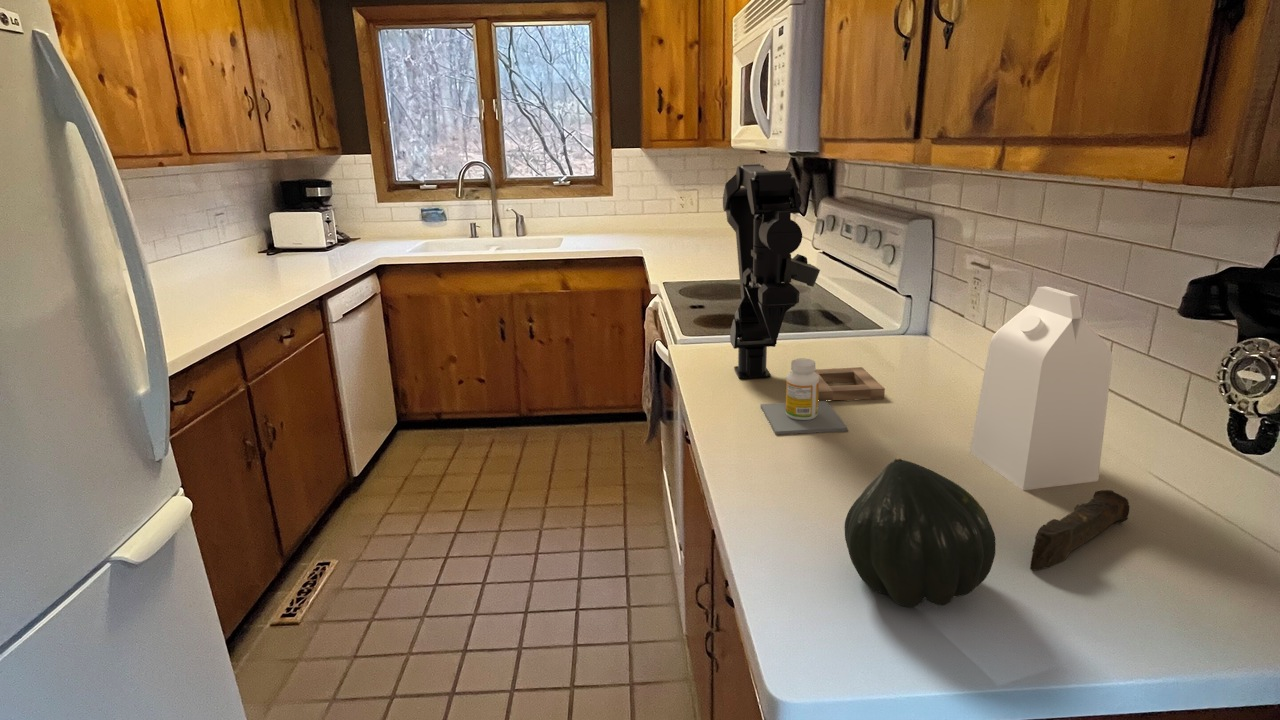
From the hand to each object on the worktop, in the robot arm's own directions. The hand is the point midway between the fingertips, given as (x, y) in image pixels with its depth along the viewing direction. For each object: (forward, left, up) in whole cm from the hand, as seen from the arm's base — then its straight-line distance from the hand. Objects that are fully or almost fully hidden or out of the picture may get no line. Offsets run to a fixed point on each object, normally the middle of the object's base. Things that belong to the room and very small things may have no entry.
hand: (768, 331), depth 126 cm
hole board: (-3, +15, -13) cm, 20 cm away
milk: (+31, +32, -13) cm, 46 cm away
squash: (+56, +4, -13) cm, 58 cm away
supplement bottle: (+10, +4, -13) cm, 16 cm away
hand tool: (+51, +26, -14) cm, 59 cm away
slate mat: (+10, +4, -13) cm, 17 cm away
